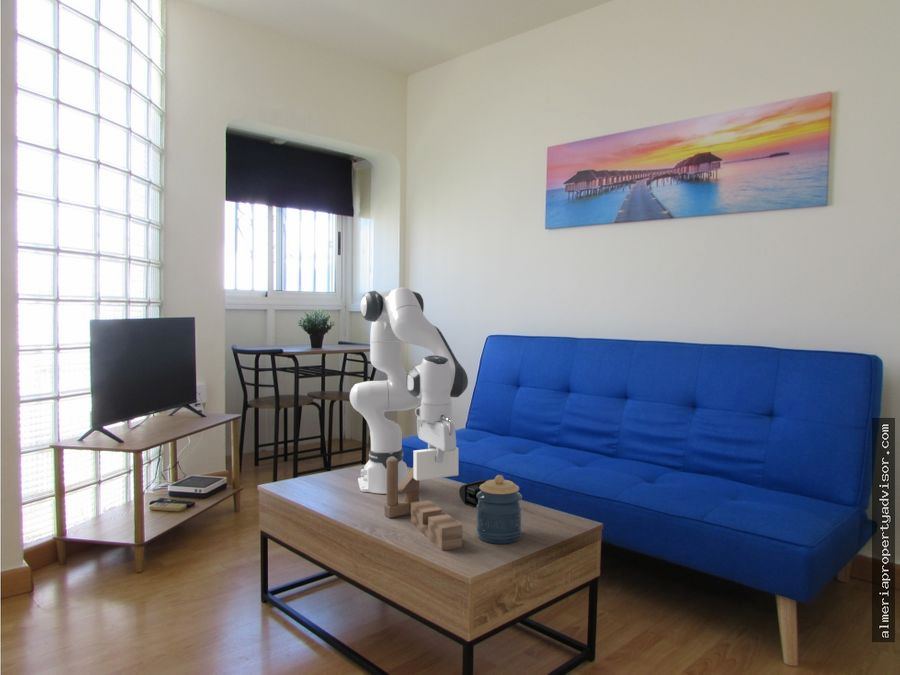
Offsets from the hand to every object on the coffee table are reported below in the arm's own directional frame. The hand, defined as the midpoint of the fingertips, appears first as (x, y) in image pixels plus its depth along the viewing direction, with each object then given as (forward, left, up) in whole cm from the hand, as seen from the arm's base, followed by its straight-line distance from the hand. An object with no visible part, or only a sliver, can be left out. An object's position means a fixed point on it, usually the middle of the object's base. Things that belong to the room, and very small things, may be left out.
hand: (436, 460), depth 178 cm
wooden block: (-20, -3, -22) cm, 30 cm away
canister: (+9, +16, -22) cm, 28 cm away
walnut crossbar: (0, 0, -21) cm, 21 cm away
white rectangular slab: (0, 0, -5) cm, 5 cm away
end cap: (-21, +24, -22) cm, 38 cm away
